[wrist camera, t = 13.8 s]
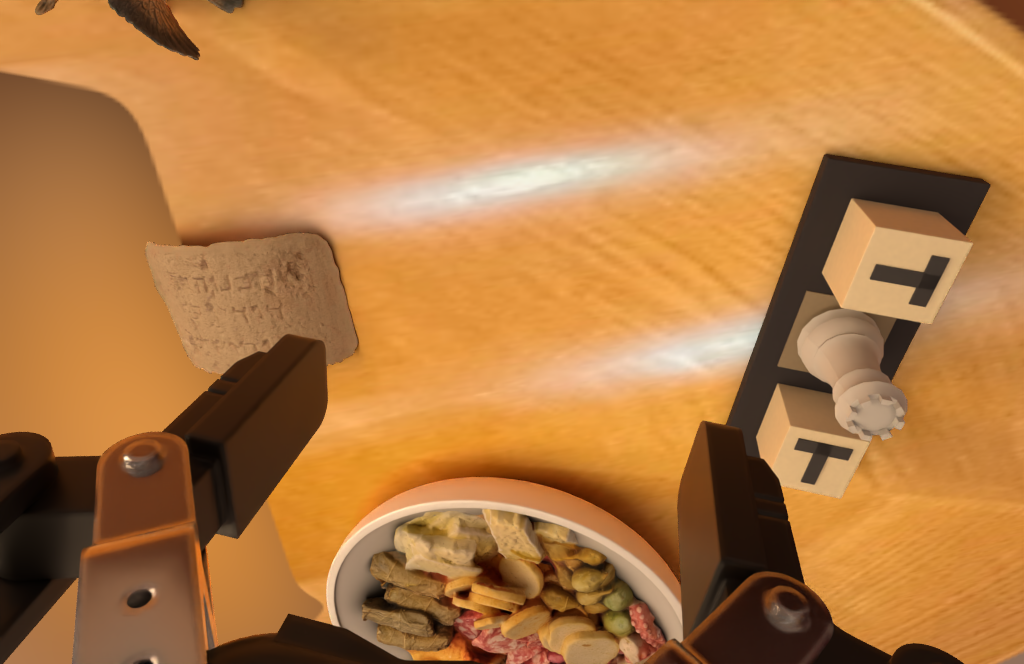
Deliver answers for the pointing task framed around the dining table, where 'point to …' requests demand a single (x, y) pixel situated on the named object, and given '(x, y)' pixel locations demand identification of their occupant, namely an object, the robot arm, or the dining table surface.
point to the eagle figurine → (154, 21)
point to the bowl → (502, 578)
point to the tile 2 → (894, 260)
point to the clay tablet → (252, 297)
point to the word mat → (808, 289)
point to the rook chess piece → (853, 371)
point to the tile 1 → (808, 442)
